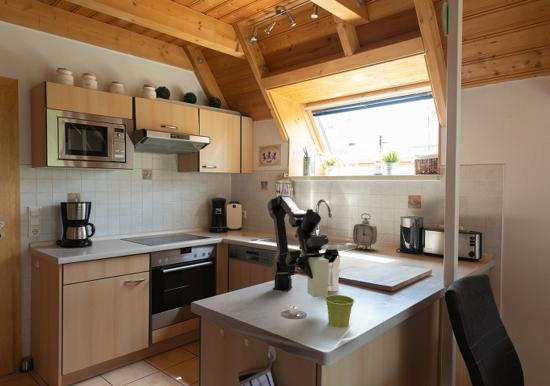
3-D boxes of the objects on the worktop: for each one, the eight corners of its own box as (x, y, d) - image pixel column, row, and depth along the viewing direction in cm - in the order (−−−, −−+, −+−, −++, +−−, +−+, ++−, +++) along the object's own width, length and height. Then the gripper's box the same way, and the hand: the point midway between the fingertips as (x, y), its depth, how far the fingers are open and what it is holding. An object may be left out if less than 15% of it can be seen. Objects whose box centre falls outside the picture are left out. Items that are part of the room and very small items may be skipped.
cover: (307, 292, 133) (308, 257, 132) (320, 291, 134) (321, 256, 134) (313, 297, 128) (314, 260, 127) (327, 295, 130) (328, 259, 129)
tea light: (287, 314, 129) (288, 306, 129) (291, 312, 131) (291, 304, 131) (295, 316, 127) (296, 308, 127) (299, 313, 130) (299, 305, 130)
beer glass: (327, 287, 167) (328, 253, 166) (342, 289, 163) (343, 255, 163) (320, 290, 161) (321, 255, 160) (336, 293, 157) (337, 257, 157)
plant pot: (351, 320, 127) (351, 295, 126) (356, 332, 117) (356, 304, 117) (323, 319, 127) (323, 294, 127) (325, 331, 118) (326, 303, 117)
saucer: (276, 318, 127) (276, 316, 127) (287, 310, 135) (287, 308, 135) (300, 323, 123) (300, 321, 123) (310, 315, 131) (310, 312, 131)
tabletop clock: (352, 248, 263) (353, 213, 262) (358, 247, 270) (359, 212, 270) (372, 251, 254) (373, 214, 254) (377, 249, 262) (378, 213, 261)
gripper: (289, 227, 131) (301, 266, 121) (337, 226, 137) (352, 263, 127) (280, 246, 138) (291, 284, 129) (326, 244, 145) (340, 280, 135)
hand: (319, 277), depth 130 cm, fingers closed on cover, 5 cm apart
